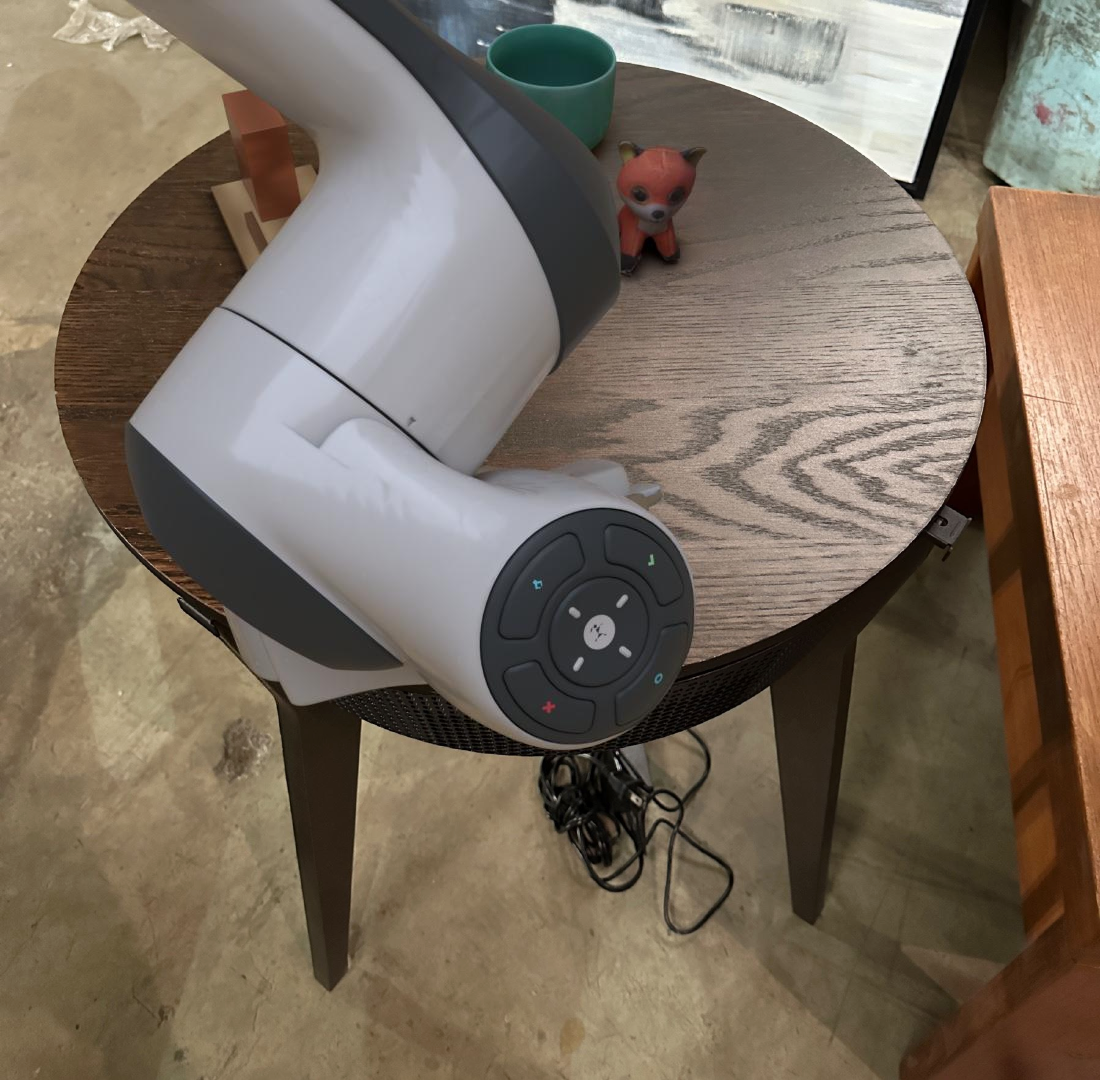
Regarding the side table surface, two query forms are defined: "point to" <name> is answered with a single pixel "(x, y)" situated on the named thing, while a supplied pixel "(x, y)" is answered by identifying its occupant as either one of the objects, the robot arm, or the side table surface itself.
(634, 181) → the stuffed fox
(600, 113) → the mug
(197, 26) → the robot arm
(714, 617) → the side table surface
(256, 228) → the pad base
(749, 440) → the side table surface
